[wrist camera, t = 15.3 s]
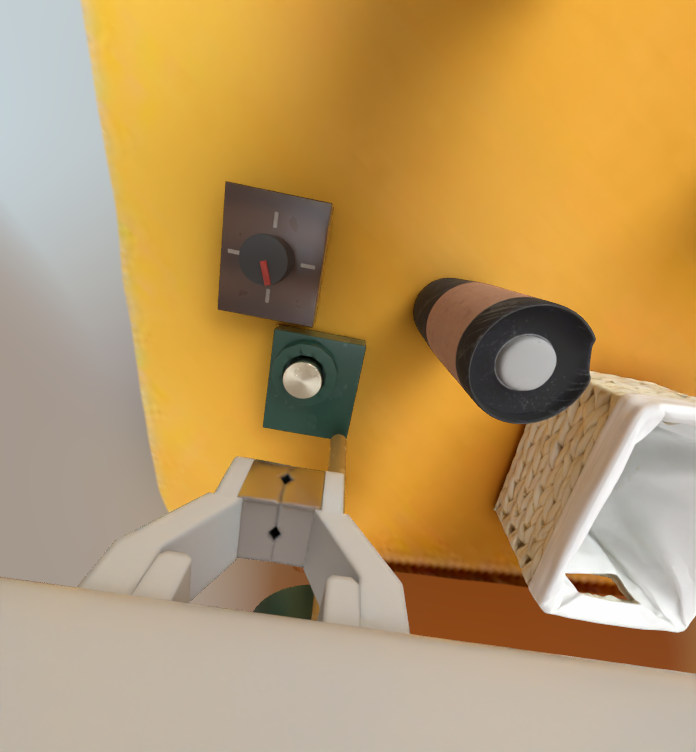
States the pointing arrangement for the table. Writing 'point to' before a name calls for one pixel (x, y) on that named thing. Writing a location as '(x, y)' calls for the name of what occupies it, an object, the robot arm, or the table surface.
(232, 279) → the dimmer
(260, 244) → the dimmer knob
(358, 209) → the table surface
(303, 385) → the power button
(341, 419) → the lamp base
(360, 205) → the table surface
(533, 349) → the travel mug
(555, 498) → the basket
